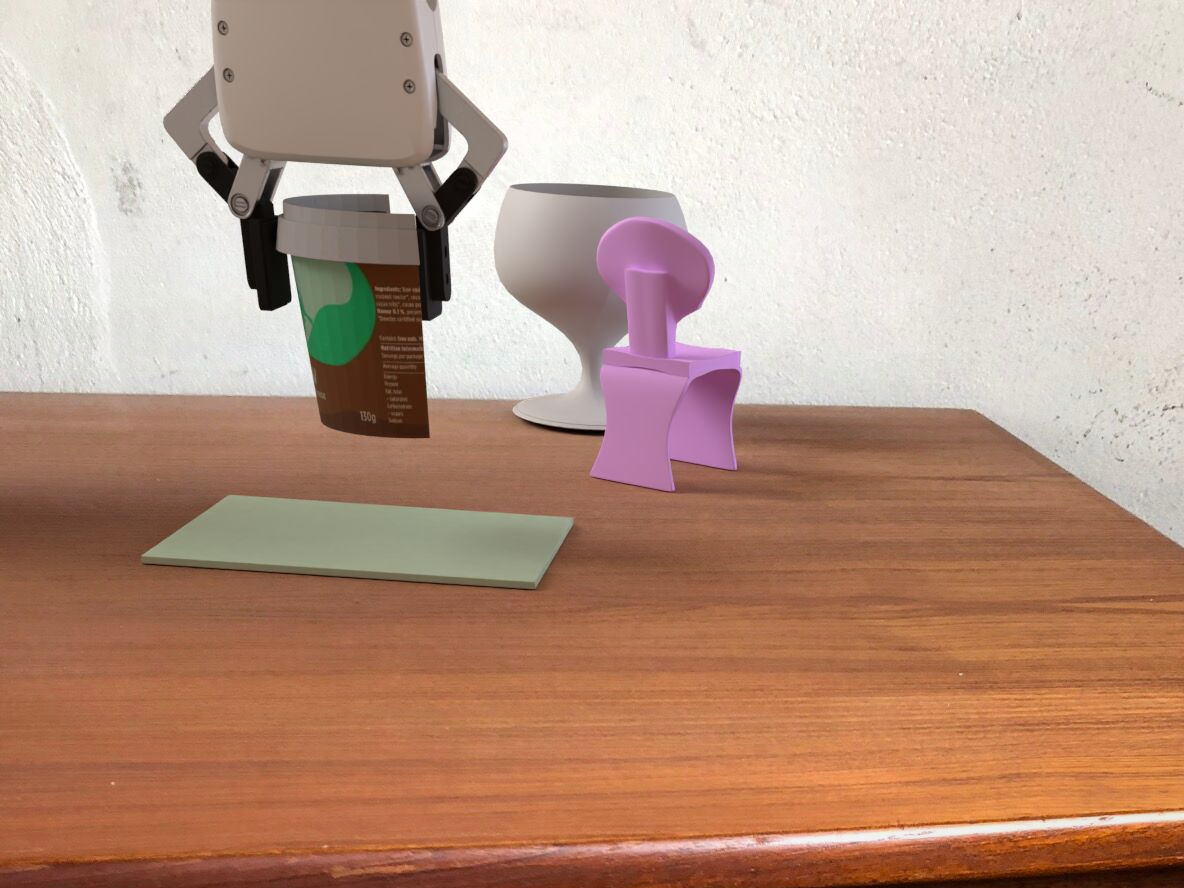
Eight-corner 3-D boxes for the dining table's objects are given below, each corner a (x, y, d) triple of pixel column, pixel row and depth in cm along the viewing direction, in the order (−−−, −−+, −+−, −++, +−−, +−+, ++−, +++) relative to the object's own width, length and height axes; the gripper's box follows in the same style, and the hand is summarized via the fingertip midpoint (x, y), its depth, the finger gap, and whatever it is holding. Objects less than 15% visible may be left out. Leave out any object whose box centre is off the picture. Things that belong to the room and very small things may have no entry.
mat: (141, 563, 76) (140, 555, 76) (229, 501, 87) (228, 494, 87) (535, 589, 76) (535, 581, 76) (573, 524, 87) (573, 517, 87)
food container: (290, 399, 82) (264, 190, 77) (405, 397, 84) (387, 193, 78) (304, 448, 72) (276, 212, 67) (434, 444, 74) (416, 215, 69)
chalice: (703, 439, 109) (710, 203, 101) (508, 437, 106) (499, 194, 97) (670, 401, 120) (673, 186, 112) (492, 398, 117) (483, 178, 109)
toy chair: (754, 471, 101) (766, 219, 93) (685, 494, 94) (692, 225, 86) (649, 451, 104) (652, 206, 96) (576, 473, 97) (573, 212, 89)
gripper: (526, -111, 69) (537, 313, 79) (149, -134, 69) (206, 292, 79) (494, -129, 63) (511, 334, 72) (79, -155, 63) (151, 311, 72)
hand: (352, 309), depth 75 cm, fingers closed on food container, 7 cm apart
